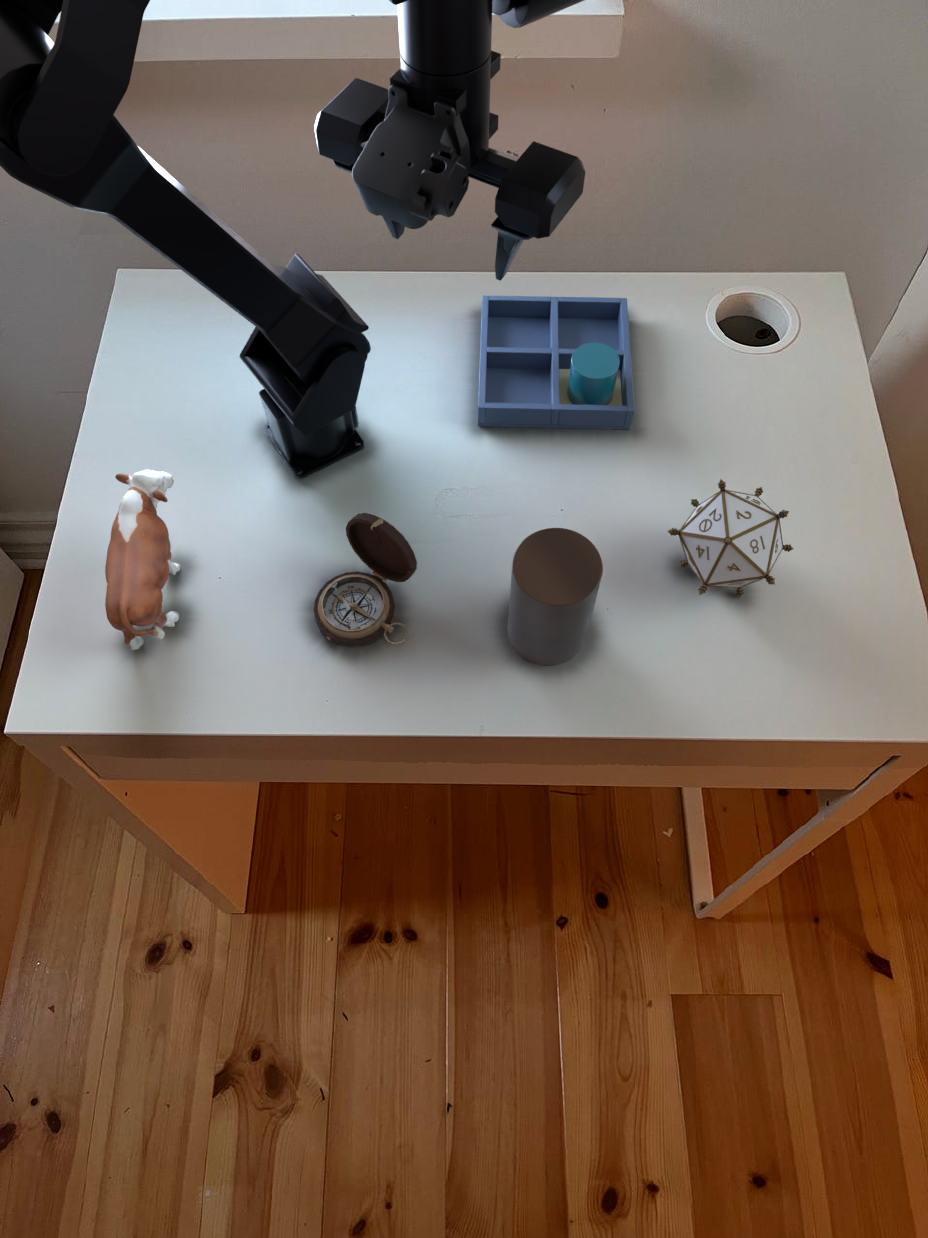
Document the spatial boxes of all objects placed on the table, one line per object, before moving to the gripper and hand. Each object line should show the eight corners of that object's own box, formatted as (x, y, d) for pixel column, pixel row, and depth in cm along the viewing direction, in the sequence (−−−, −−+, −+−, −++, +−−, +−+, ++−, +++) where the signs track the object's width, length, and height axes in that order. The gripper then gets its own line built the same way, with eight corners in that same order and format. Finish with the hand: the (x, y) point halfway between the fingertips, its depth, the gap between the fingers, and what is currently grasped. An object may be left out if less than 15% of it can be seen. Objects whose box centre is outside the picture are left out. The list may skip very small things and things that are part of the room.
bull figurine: (201, 514, 73) (171, 452, 66) (175, 665, 67) (139, 614, 59) (147, 514, 73) (111, 452, 66) (117, 665, 67) (73, 614, 59)
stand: (536, 679, 66) (545, 621, 57) (492, 618, 68) (495, 553, 60) (602, 640, 67) (621, 577, 59) (557, 581, 70) (568, 513, 61)
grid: (477, 426, 77) (478, 407, 75) (481, 315, 83) (482, 294, 80) (630, 429, 76) (634, 411, 74) (623, 317, 82) (627, 297, 80)
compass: (298, 622, 68) (279, 574, 62) (361, 549, 71) (350, 496, 65) (381, 677, 66) (371, 633, 60) (443, 599, 69) (440, 549, 63)
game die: (706, 611, 72) (695, 623, 63) (659, 517, 73) (641, 516, 64) (813, 561, 69) (818, 566, 60) (763, 464, 70) (760, 454, 61)
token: (584, 418, 76) (589, 385, 73) (557, 387, 78) (561, 354, 74) (622, 398, 77) (629, 365, 74) (595, 368, 79) (601, 335, 75)
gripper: (246, 71, 54) (290, 277, 68) (516, 171, 50) (505, 369, 64) (346, -17, 59) (369, 193, 73) (602, 67, 55) (574, 273, 69)
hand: (449, 255), depth 69 cm, fingers open, 9 cm apart
